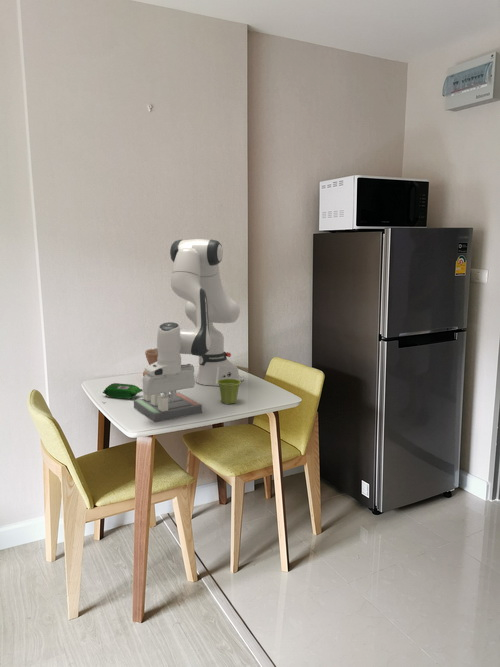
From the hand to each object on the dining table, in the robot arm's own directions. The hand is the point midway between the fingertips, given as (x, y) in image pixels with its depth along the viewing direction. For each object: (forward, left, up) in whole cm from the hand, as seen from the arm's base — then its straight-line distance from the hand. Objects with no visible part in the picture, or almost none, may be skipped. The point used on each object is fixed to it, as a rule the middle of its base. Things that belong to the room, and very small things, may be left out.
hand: (169, 402), depth 199 cm
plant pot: (-29, -3, -6) cm, 29 cm away
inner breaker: (+2, -14, -3) cm, 15 cm away
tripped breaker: (+3, 0, -2) cm, 4 cm away
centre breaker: (+2, -7, -3) cm, 8 cm away
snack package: (+6, -32, -6) cm, 33 cm away
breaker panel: (-3, -7, -6) cm, 9 cm away
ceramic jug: (-18, -46, -6) cm, 50 cm away
